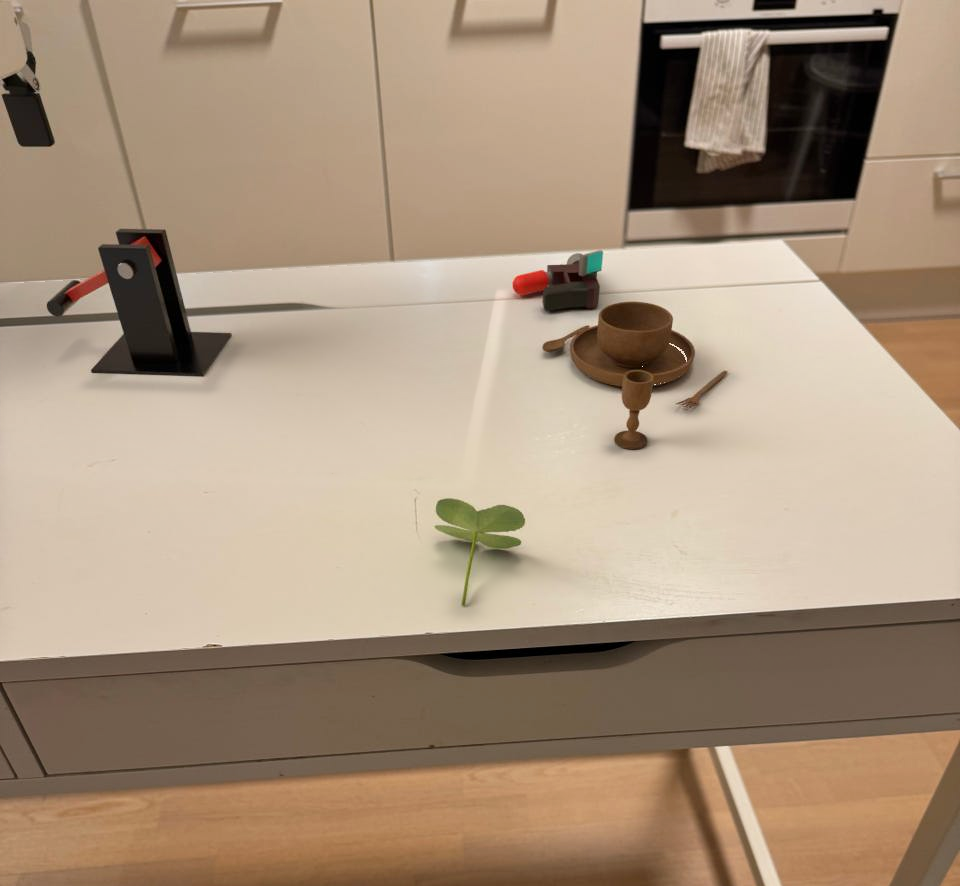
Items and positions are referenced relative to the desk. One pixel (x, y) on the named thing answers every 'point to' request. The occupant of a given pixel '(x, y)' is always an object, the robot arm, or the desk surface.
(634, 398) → the place setting
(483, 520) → the green clover sprout
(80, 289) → the lever
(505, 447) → the desk surface
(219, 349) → the bracket
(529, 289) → the toy gun
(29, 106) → the robot arm
